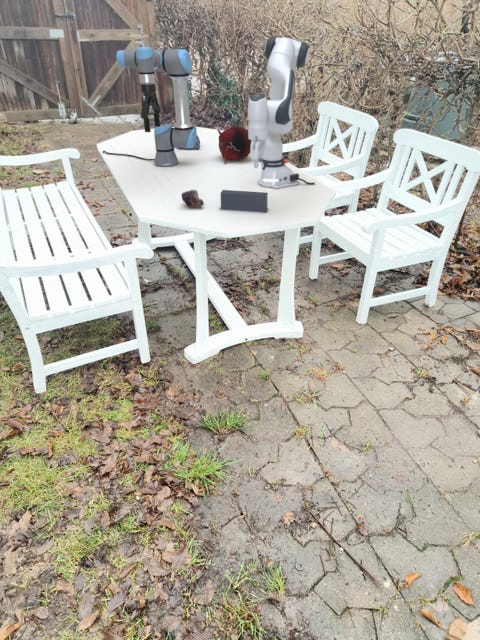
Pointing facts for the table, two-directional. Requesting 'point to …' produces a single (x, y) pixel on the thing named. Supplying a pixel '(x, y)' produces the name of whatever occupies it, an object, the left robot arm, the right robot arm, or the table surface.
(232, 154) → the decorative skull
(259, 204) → the bar
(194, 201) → the rock
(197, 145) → the koala plush
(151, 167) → the table surface
